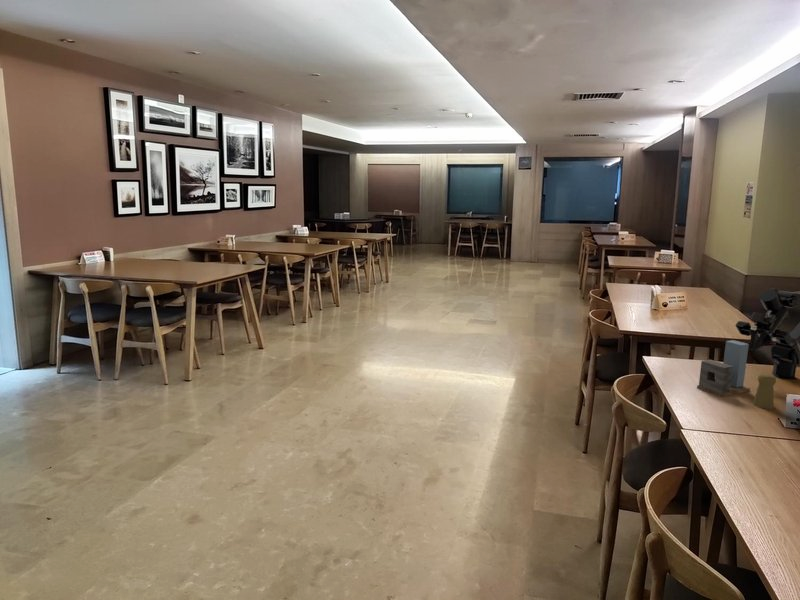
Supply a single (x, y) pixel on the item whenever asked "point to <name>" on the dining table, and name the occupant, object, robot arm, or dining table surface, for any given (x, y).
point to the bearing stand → (718, 379)
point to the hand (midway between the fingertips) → (750, 349)
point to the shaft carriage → (736, 361)
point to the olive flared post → (765, 391)
